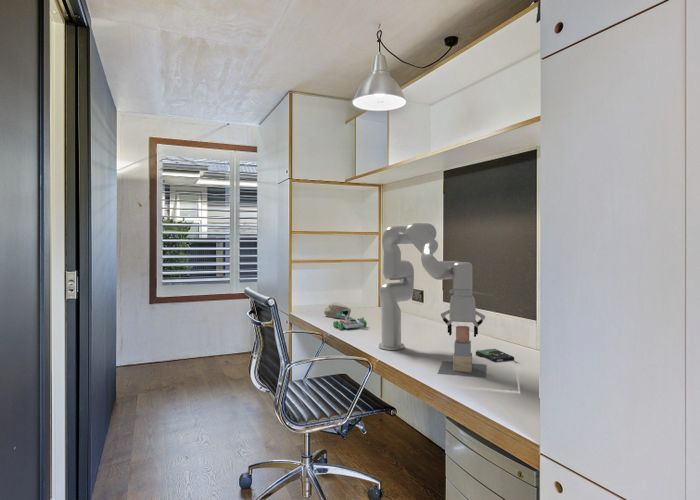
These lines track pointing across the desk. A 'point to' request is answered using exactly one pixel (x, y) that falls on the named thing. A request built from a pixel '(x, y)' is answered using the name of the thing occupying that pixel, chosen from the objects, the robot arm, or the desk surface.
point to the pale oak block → (462, 363)
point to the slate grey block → (462, 349)
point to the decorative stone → (336, 310)
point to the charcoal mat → (477, 371)
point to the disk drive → (494, 355)
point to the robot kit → (349, 321)
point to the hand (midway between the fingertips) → (462, 335)
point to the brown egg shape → (462, 334)
